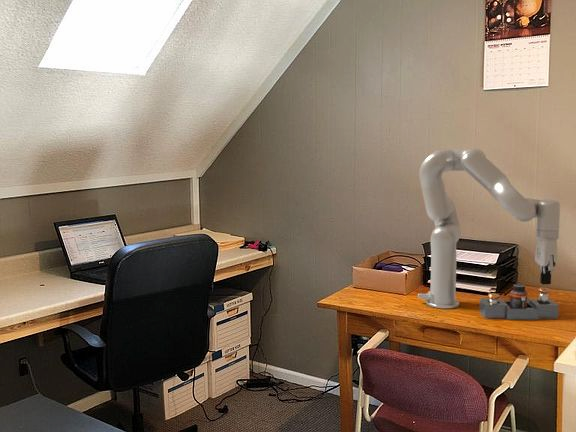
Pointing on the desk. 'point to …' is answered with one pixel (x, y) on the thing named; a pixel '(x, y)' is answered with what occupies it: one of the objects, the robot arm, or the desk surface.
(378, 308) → the desk surface
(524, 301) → the supplement bottle
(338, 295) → the desk surface
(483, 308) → the housing
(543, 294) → the plunger right
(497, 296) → the plunger left
